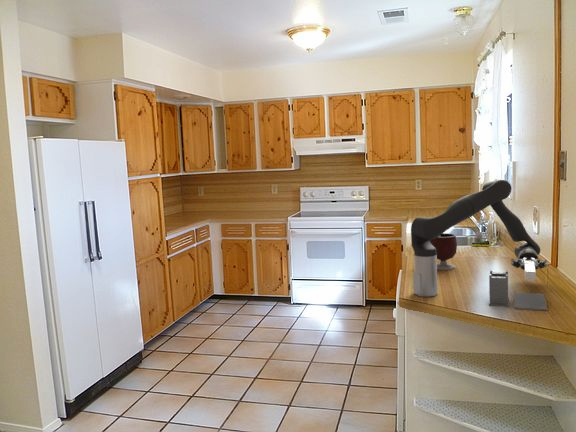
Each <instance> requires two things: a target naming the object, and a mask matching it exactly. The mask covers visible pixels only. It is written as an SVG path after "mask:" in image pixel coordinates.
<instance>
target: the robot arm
mask: <svg viewBox="0 0 576 432" xmlns="http://www.w3.org/2000/svg"><path fill="white" fill-rule="evenodd" d="M481 189H482V190H479V191H477V192H474V193H473V192H472V193H470V194H468V195H465V196H461V197H460V198H458V199H456V200H455V201H453V202H451V203H450V204H449V205H448V207H447V209H446V210H445V211H444V212H443V213H441V214H439V215H437V216H434V217H423V216H418V217H416V218H414V220H413V221H412V222H411V225H410V235H411V236H410V238H411V247H412V249H413V256H414V259H413V260H414V271H413V272H412V280H413V281H412V284H413V285H412V287H413V288H412V289H413V294H414V295H417V296H418V297H426V298H427V297H436V296H438V294H439V292H438V269H437V264H438V263H437V261H438V259H437V251H436V248H435V247H434V246H433V245H432V244H431V242H430V240H432V239H435V238H436V237H438V236H439V235H441V234H442V233H445V232H447V230H449V229H451V228H453V227H455V226H457V225H459V224H460V223H462V222H464V221H466V220H468V219H469V218H472V217H473V216H475V215H476V214H478V213H480V212H482V210H484V209H486V208H488V207H489V206H490V207H491V208H492V210H493V211H494V212H495V214H496V215H497V216H498V218H499V219H500V220H501V223H503V226H504V227H505V229H506V231H507V233H508V234H509V237H510V239H511V240H512V242H516V243H518V242H525V243H522V244H520V245H517V246H516V247H515V248H514V254H515V257H516V258H517V259H514V258H511V259H510V263H511V264H510V265H511V266H513V268H516V269H519V268H520V269H521V270H522V271H524V270H525V265H524V261H534V265H535V271H537V270H538V269H541V270H542V269H544V268H546V267H547V266H548V262H547V261H548V260H547V259H542V260H541V259H539V255H540V254H541V247H540V246H539V244H538V243H537V242H536V241H535V240H534V239H533V238H532V237H531V236H530V235H529V233H528V231H527V230H526V227H524V224H523V221H521V219H520V218H519V217H518V216H517V215H516V214H515V213H513V212H512V210H511V209H509V208H508V207H507V205H506V204H505V203H504V201H503V200H506V199H508V197H509V196H510V195H511V193H512V184H511V183H510V182H509V181H507V180H505V179H496V180H492V181H488V182H485V183H484V184H483V186H482V188H481Z"/></svg>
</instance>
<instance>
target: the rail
mask: <svg viewBox="0 0 576 432" xmlns="http://www.w3.org/2000/svg"><path fill="white" fill-rule="evenodd" d="M524 265H525V270H523V272H524V281H526V282H527V281H528V282H529V281H530V282H531V281H532V282H537V278H536V276H537V273H536V271H537V270H535V265H534V261H524Z"/></svg>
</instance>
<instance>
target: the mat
mask: <svg viewBox="0 0 576 432" xmlns="http://www.w3.org/2000/svg"><path fill="white" fill-rule="evenodd" d="M513 301H514V303H513V305H514V306H513V308H515V309H514V310H525V309H526V310H528V311H529V310H530V311H541V310H547V311H548V306H547V302H546V297H545V294H544V293H530V292H529V293H527V292H514V294H513Z"/></svg>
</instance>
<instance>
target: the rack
mask: <svg viewBox="0 0 576 432" xmlns="http://www.w3.org/2000/svg"><path fill="white" fill-rule="evenodd" d="M488 280H489V283H488V284H489V285H488V286H489V291H488V293H489V295H488V296H489V299H488V300H489V302H488V306H489V307H490V306H491V307H502V306H505V308H510V307H509V303H510V301H509V300H510V297H509V270H508V269H507V270H505V272H501V271H500V272H497V271H493V269H489V275H488Z"/></svg>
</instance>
